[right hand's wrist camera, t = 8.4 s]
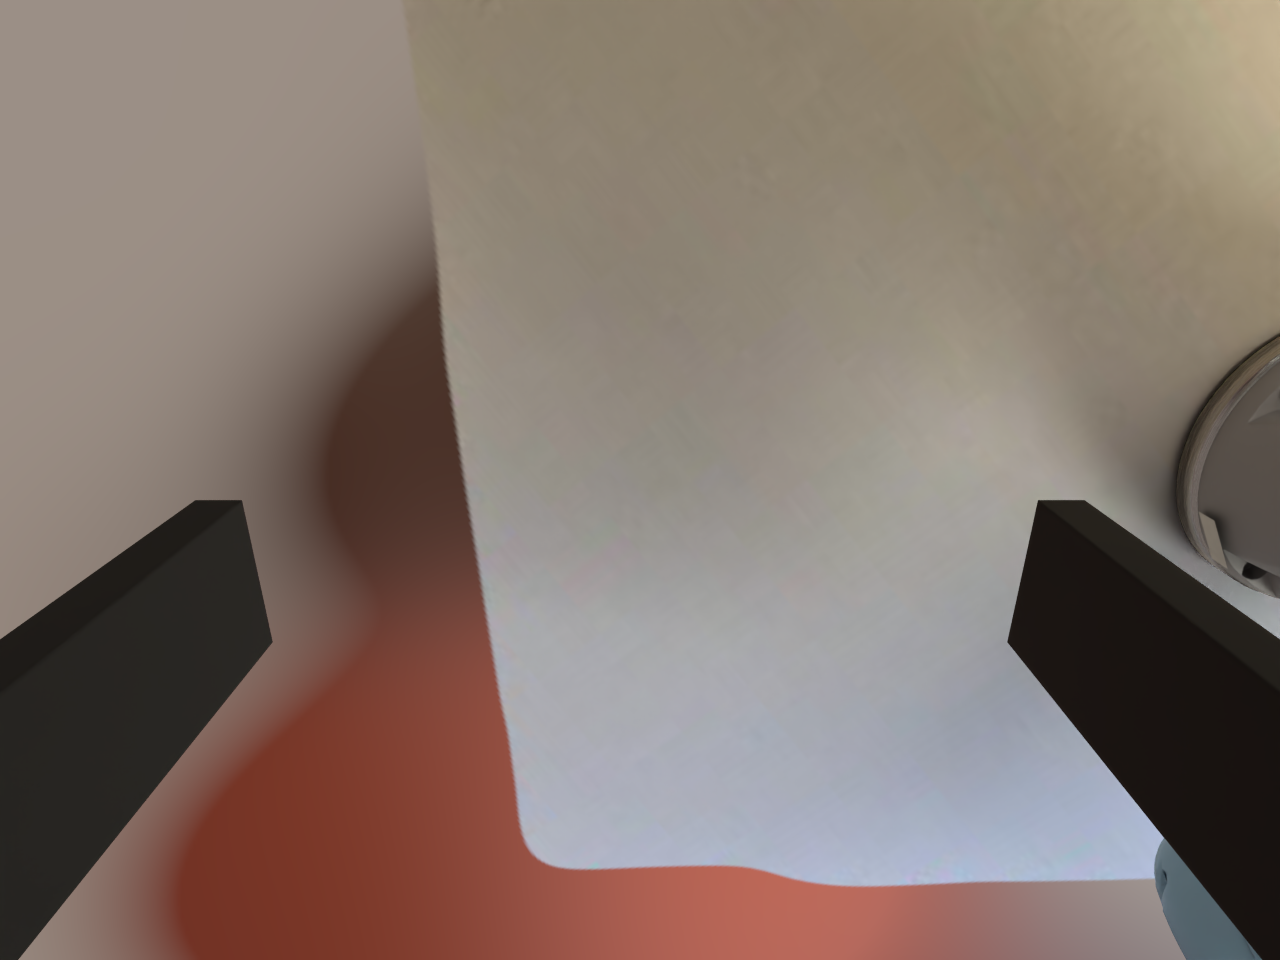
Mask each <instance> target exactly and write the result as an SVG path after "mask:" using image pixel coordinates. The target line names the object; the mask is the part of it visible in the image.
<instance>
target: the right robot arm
mask: <svg viewBox="0 0 1280 960" xmlns="http://www.w3.org/2000/svg"><path fill="white" fill-rule="evenodd" d="M1176 499H1177V507H1178V513H1179V516H1180V520H1181V523H1182V526H1183V528H1184V531H1185V533H1186V535H1187V537H1188V538H1189V540H1190V542H1191V543H1192V545H1193V546H1194V547H1195V549H1196V550H1197V551H1198V552H1199V553H1200V554H1201V555H1202V556H1203V557H1204V558H1205V559H1206V560H1207V561H1208V562H1210V563H1211V564H1212V565H1213V566H1215V567H1216V568H1218V569H1219V570H1221V571H1222V572H1224V573H1225V574H1227V575H1228V576H1230V577H1231V578H1233V579H1234V580H1236V581H1238V582H1239V583H1241V584H1243V585H1244V586H1247V587H1249V588H1251V589H1253V590H1256V591H1259V592H1261V593H1264V594H1267V595H1269V596H1272V597H1275V598H1279V599H1280V336H1279V337H1278V338H1276V339H1274V340H1273V341H1271V342H1270V343H1268V344H1267V345H1265V346H1264V347H1263V348H1261V349H1260V350H1259V351H1257V352H1256V353H1254V354H1253V355H1252V356H1251V357H1250V358H1249V359H1247V360H1246V361H1245V362H1244V363H1243V364H1241V365H1240V366H1239V367H1238V368H1237V369H1236V370H1235V371H1234V372H1233V373H1232V374H1231V375H1230V376H1229V377H1228V378H1227V379H1226V380H1225V382H1224V383H1223V384H1222V385H1221V386H1220V387H1219V388H1218V390H1217V391H1216V392H1215V393H1214V395H1213V396H1212V397H1211V399H1210V400H1209V401H1208V403H1207V404H1206V406H1205V407H1204V409H1203V410H1202V412H1201V414H1200V415H1199V417H1198V418H1197V420H1196V422H1195V424H1194V426H1193V428H1192V430H1191V432H1190V434H1189V437H1188V439H1187V441H1186V444H1185V447H1184V450H1183V453H1182V456H1181V459H1180V464H1179V469H1178V475H1177V484H1176ZM271 643H272V637H271V633H270V628H269V623H268V619H267V614H266V609H265V605H264V600H263V596H262V591H261V586H260V582H259V577H258V572H257V568H256V563H255V559H254V554H253V549H252V545H251V540H250V536H249V531H248V526H247V522H246V517H245V512H244V508H243V503H242V500H195V501H194V502H192V503H191V504H190V505H188V506H187V507H185V508H184V509H183V510H181V511H180V512H178V513H177V514H176V515H174V516H173V517H171V518H170V519H169V520H167V521H166V522H164V523H163V524H162V525H160V526H159V527H157V528H156V529H155V530H153V531H152V532H150V533H149V534H147V535H146V536H145V537H143V538H142V539H140V540H139V541H138V542H136V543H135V544H133V545H132V546H131V547H129V548H128V549H126V550H125V551H124V552H122V553H121V554H119V555H118V556H117V557H115V558H114V559H112V560H111V561H110V562H108V563H107V564H105V565H104V566H103V567H101V568H100V569H98V570H97V571H96V572H94V573H93V574H91V575H90V576H89V577H87V578H86V579H84V580H83V581H82V582H80V583H79V584H77V585H76V586H75V587H73V588H72V589H70V590H69V591H67V592H66V593H65V594H63V595H62V596H61V597H59V598H58V599H56V600H55V601H54V602H52V603H51V604H49V605H48V606H47V607H45V608H44V609H42V610H41V611H39V612H38V613H37V614H35V615H34V616H32V617H31V618H30V619H28V620H27V621H25V622H24V623H23V624H21V625H20V626H18V627H17V628H16V629H14V630H13V631H11V632H10V633H9V634H7V635H6V636H4V637H3V638H2V639H0V960H18V959H19V958H20V957H21V955H22V954H23V953H24V952H25V951H26V949H27V948H28V947H29V945H30V944H31V943H32V942H33V940H34V939H35V938H36V937H37V935H38V934H39V933H40V932H41V930H42V929H43V928H44V927H45V926H46V924H47V923H48V922H49V920H50V919H51V918H52V917H53V916H54V914H55V913H56V912H57V911H58V909H59V908H60V907H61V906H62V904H63V903H64V902H65V901H66V899H67V898H68V897H69V896H70V894H71V893H72V892H73V891H74V889H75V888H76V887H77V886H78V884H79V883H80V882H81V881H82V879H83V878H84V877H85V876H86V874H87V873H88V872H89V871H90V869H91V868H92V867H93V866H94V864H95V863H96V862H97V861H98V859H99V858H100V857H101V856H102V854H103V853H104V852H105V851H106V849H107V848H108V847H109V846H110V844H111V843H112V842H113V841H114V839H115V838H116V837H117V836H118V834H119V833H120V832H121V831H122V829H123V828H124V827H125V826H126V824H127V823H128V822H129V821H130V819H131V818H132V817H133V816H134V814H135V813H136V812H137V811H138V809H139V808H140V807H141V806H142V804H143V803H144V802H145V801H146V799H147V798H148V797H149V796H150V794H151V793H152V792H153V791H154V789H155V788H156V787H157V786H158V784H159V783H160V782H161V781H162V779H163V778H164V777H165V776H166V775H167V773H168V772H169V771H170V770H171V768H172V767H173V766H174V765H175V763H176V762H177V761H178V760H179V758H180V757H181V756H182V755H183V753H184V752H185V751H186V750H187V748H188V747H189V746H190V745H191V743H192V742H193V741H194V740H195V738H196V737H197V736H198V735H199V733H200V732H201V731H202V730H203V728H204V727H205V726H206V725H207V723H208V722H209V721H210V719H211V718H212V717H213V716H214V715H215V713H216V712H217V711H218V710H219V708H220V707H221V706H222V705H223V703H224V702H225V701H226V700H227V698H228V697H229V696H230V695H231V693H232V692H233V691H234V690H235V688H236V687H237V686H238V685H239V683H240V682H241V681H242V680H243V678H244V677H245V676H246V675H247V673H248V672H249V671H250V670H251V668H252V667H253V666H254V665H255V663H256V662H257V661H258V660H259V658H260V657H261V656H262V655H263V653H264V652H265V651H266V650H267V648H268V647H269V646H270V645H271ZM1008 643H1009V645H1010V646H1011V647H1012V648H1013V650H1014V651H1015V652H1016V653H1017V655H1018V656H1019V657H1020V658H1021V660H1022V661H1023V662H1024V663H1025V665H1026V666H1027V667H1028V668H1029V670H1030V671H1031V672H1032V673H1033V675H1034V676H1035V677H1036V678H1037V680H1038V681H1039V682H1040V683H1041V685H1042V686H1043V687H1044V688H1045V690H1046V691H1047V692H1048V693H1049V695H1050V696H1051V697H1052V698H1053V700H1054V701H1055V702H1056V703H1057V705H1058V706H1059V707H1060V708H1061V710H1062V711H1063V712H1064V713H1065V715H1066V716H1067V717H1068V718H1069V720H1070V721H1071V722H1072V723H1073V725H1074V726H1075V727H1076V728H1077V730H1078V731H1079V732H1080V733H1081V735H1082V736H1083V737H1084V738H1085V740H1086V741H1087V742H1088V743H1089V745H1090V746H1091V747H1092V748H1093V750H1094V751H1095V752H1096V753H1097V755H1098V756H1099V757H1100V758H1101V760H1102V761H1103V762H1104V763H1105V765H1106V766H1107V767H1108V768H1109V770H1110V771H1111V772H1112V773H1113V775H1114V776H1115V777H1116V778H1117V779H1118V781H1119V782H1120V783H1121V784H1122V786H1123V787H1124V788H1125V789H1126V791H1127V792H1128V793H1129V794H1130V796H1131V797H1132V798H1133V799H1134V801H1135V802H1136V803H1137V804H1138V806H1139V807H1140V808H1141V809H1142V811H1143V812H1144V813H1145V814H1146V816H1147V817H1148V818H1149V819H1150V821H1151V822H1152V823H1153V824H1154V826H1155V827H1156V828H1157V829H1158V831H1159V832H1160V833H1161V834H1162V836H1163V837H1164V839H1163V841H1162V842H1161V844H1160V846H1159V848H1158V851H1157V854H1156V858H1155V864H1154V874H1155V881H1156V888H1157V891H1158V894H1159V897H1160V900H1161V902H1162V906H1163V912H1164V914H1165V917H1166V919H1167V922H1168V924H1169V926H1170V928H1171V931H1172V933H1173V935H1174V937H1175V939H1176V941H1177V943H1178V945H1179V947H1180V949H1181V951H1182V952H1183V954H1184V956H1185V958H1186V960H1280V639H1278V638H1277V637H1276V636H1274V635H1273V634H1271V633H1270V632H1269V631H1267V630H1266V629H1264V628H1263V627H1262V626H1260V625H1259V624H1257V623H1256V622H1255V621H1253V620H1252V619H1250V618H1249V617H1248V616H1246V615H1245V614H1243V613H1242V612H1241V611H1239V610H1238V609H1236V608H1235V607H1234V606H1232V605H1231V604H1229V603H1228V602H1227V601H1225V600H1224V599H1222V598H1221V597H1220V596H1218V595H1217V594H1215V593H1214V592H1213V591H1211V590H1210V589H1208V588H1207V587H1205V586H1204V585H1203V584H1201V583H1200V582H1198V581H1197V580H1196V579H1194V578H1193V577H1191V576H1190V575H1189V574H1187V573H1186V572H1184V571H1183V570H1182V569H1180V568H1179V567H1177V566H1176V565H1175V564H1173V563H1172V562H1170V561H1169V560H1168V559H1166V558H1165V557H1163V556H1162V555H1161V554H1159V553H1158V552H1156V551H1155V550H1154V549H1152V548H1151V547H1149V546H1148V545H1147V544H1145V543H1144V542H1142V541H1141V540H1140V539H1138V538H1137V537H1135V536H1134V535H1133V534H1131V533H1130V532H1128V531H1127V530H1126V529H1124V528H1123V527H1121V526H1120V525H1119V524H1117V523H1116V522H1114V521H1113V520H1111V519H1110V518H1109V517H1107V516H1106V515H1104V514H1103V513H1102V512H1100V511H1099V510H1097V509H1096V508H1095V507H1093V506H1092V505H1090V504H1089V503H1088V502H1086V501H1085V500H1038V503H1037V508H1036V512H1035V517H1034V522H1033V526H1032V531H1031V536H1030V540H1029V545H1028V549H1027V554H1026V559H1025V563H1024V568H1023V572H1022V577H1021V582H1020V586H1019V591H1018V596H1017V600H1016V605H1015V609H1014V614H1013V619H1012V623H1011V628H1010V632H1009V637H1008Z"/></svg>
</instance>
